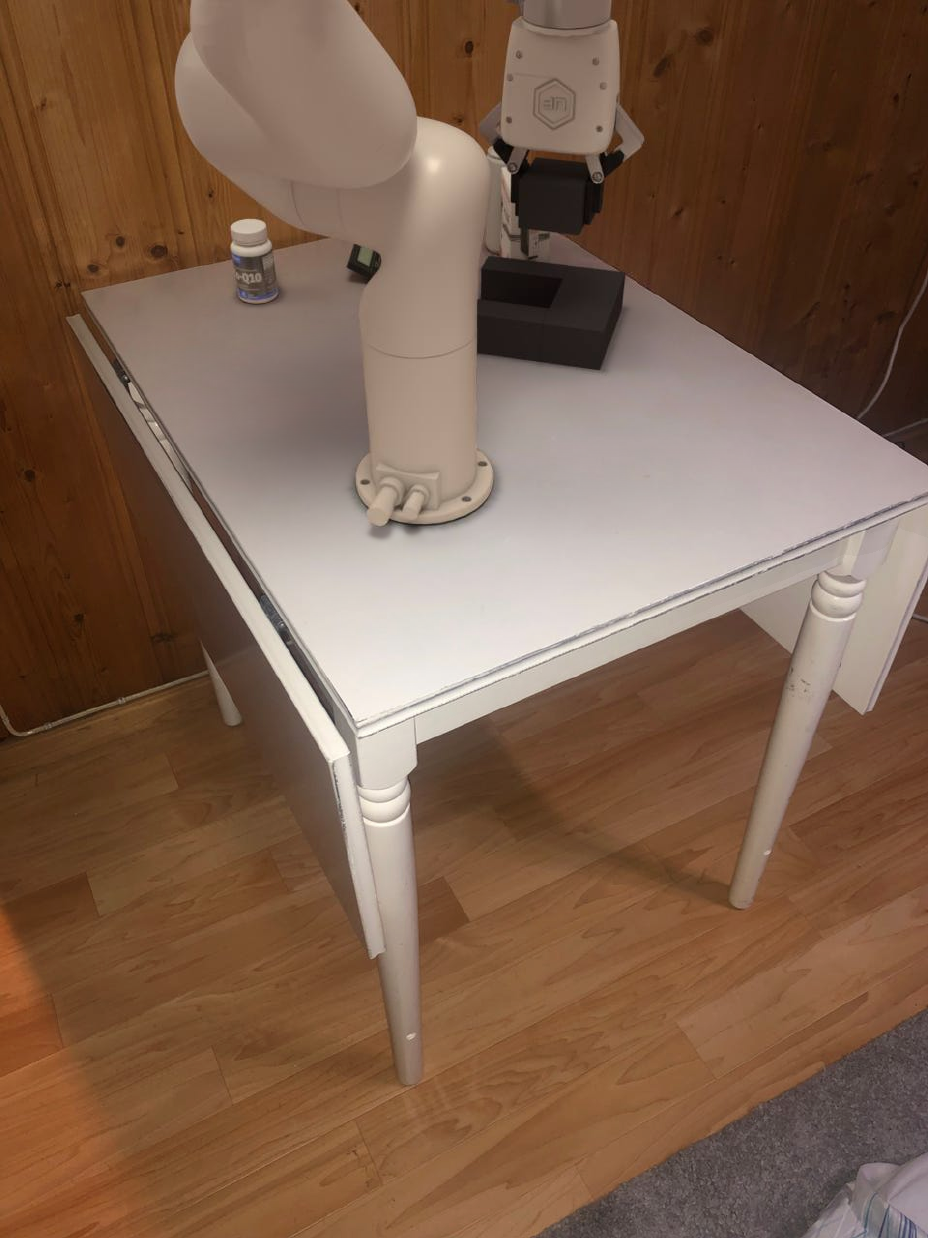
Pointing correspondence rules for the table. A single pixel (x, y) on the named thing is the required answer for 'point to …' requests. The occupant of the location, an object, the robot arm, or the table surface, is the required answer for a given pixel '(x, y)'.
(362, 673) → the table surface
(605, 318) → the base pad
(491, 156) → the beverage can
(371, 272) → the calculator
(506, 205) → the ink box
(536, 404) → the table surface
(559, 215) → the black block
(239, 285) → the pill bottle
